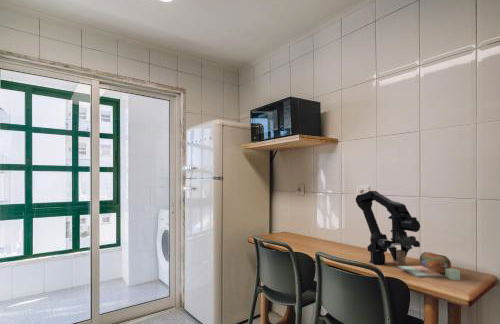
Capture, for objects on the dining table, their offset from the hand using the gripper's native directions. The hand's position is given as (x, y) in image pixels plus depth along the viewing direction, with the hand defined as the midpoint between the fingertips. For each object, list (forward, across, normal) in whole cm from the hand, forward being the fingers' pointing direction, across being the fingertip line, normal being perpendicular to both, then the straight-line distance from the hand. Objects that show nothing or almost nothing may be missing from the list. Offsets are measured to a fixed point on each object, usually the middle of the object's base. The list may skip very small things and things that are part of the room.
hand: (399, 260), depth 143 cm
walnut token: (+1, 0, 0) cm, 1 cm away
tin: (+5, +20, +1) cm, 20 cm away
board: (+5, +10, -1) cm, 11 cm away
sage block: (+5, +19, -11) cm, 23 cm away
